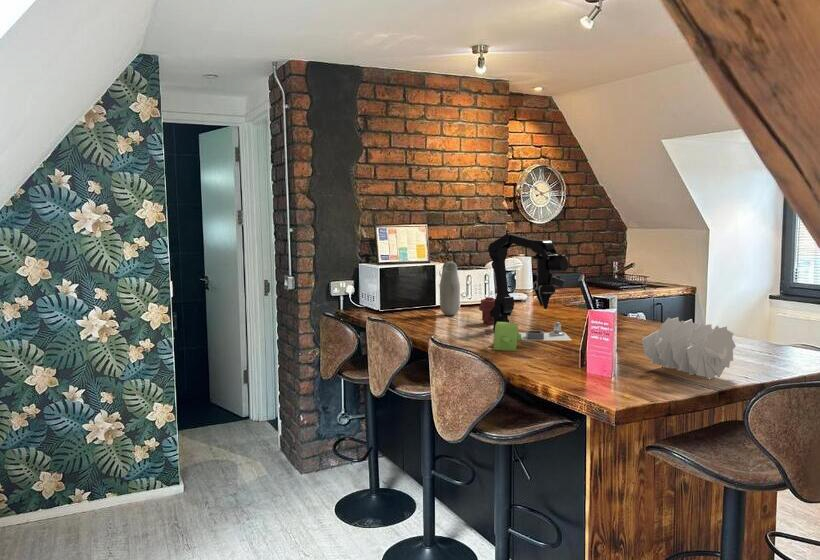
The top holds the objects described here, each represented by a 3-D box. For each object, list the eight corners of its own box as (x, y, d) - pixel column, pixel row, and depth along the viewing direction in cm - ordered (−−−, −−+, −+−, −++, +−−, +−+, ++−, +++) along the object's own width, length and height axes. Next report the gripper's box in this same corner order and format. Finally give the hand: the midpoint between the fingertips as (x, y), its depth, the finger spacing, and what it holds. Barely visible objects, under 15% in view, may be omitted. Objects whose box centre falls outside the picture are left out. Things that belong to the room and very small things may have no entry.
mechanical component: (498, 321, 314) (501, 325, 304) (478, 321, 315) (479, 325, 305) (498, 296, 313) (501, 299, 303) (478, 296, 313) (480, 299, 303)
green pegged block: (519, 355, 243) (520, 330, 242) (492, 353, 245) (494, 328, 244) (521, 344, 261) (522, 321, 259) (496, 342, 262) (497, 319, 261)
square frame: (527, 339, 266) (527, 333, 266) (525, 336, 273) (525, 330, 273) (543, 339, 266) (543, 333, 266) (541, 336, 273) (541, 330, 272)
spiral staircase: (667, 375, 224) (732, 389, 202) (633, 359, 216) (697, 371, 194) (682, 326, 227) (748, 334, 204) (649, 308, 219) (714, 314, 197)
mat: (522, 341, 265) (522, 340, 265) (518, 334, 282) (518, 332, 282) (572, 341, 264) (572, 340, 264) (565, 334, 281) (565, 332, 280)
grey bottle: (436, 314, 338) (436, 261, 335) (454, 313, 342) (453, 260, 339) (445, 317, 329) (445, 262, 326) (463, 315, 333) (463, 261, 330)
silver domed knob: (550, 335, 274) (550, 323, 273) (548, 333, 280) (548, 321, 280) (566, 335, 273) (566, 323, 273) (563, 333, 280) (563, 321, 279)
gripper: (568, 272, 263) (567, 310, 264) (558, 268, 281) (558, 304, 283) (540, 272, 263) (539, 310, 264) (532, 268, 281) (532, 304, 283)
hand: (543, 307), depth 274 cm, fingers open, 9 cm apart
